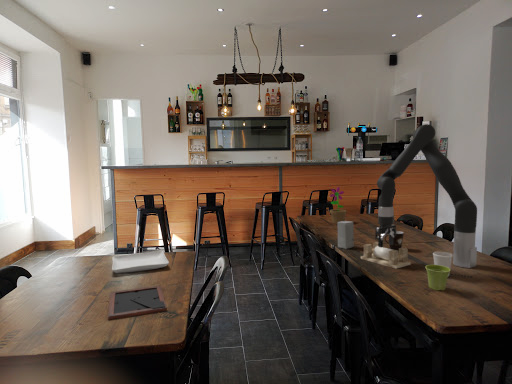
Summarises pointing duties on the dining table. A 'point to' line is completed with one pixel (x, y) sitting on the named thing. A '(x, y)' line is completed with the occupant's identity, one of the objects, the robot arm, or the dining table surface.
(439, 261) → the dixie cup
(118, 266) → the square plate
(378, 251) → the roll
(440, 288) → the plant pot
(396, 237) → the coffee mug
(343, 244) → the skincare box
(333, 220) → the flowerpot
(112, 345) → the dining table surface
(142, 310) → the picture frame
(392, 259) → the holder
